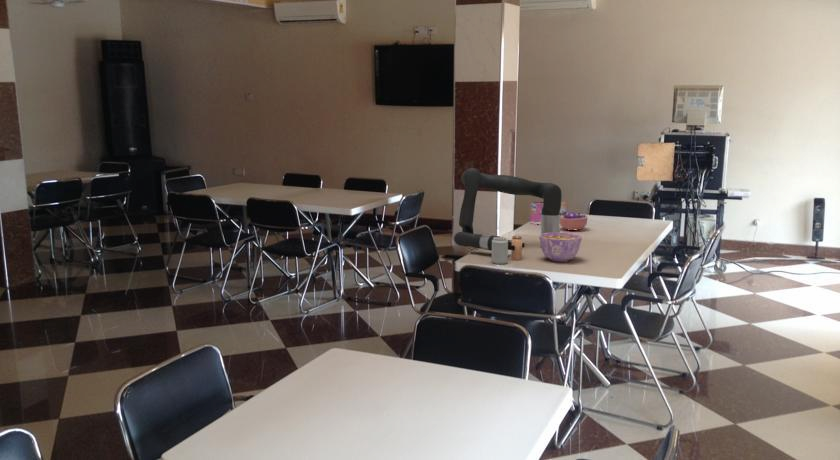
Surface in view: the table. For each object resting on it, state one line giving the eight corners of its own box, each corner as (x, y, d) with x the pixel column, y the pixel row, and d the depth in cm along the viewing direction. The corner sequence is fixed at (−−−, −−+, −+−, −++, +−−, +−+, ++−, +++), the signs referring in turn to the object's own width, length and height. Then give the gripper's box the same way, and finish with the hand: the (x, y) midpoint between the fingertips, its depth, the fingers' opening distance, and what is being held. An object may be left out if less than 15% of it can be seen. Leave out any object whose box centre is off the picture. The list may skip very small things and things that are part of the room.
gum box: (562, 221, 451) (562, 200, 448) (569, 223, 443) (569, 201, 441) (529, 223, 442) (530, 202, 440) (536, 225, 435) (536, 203, 432)
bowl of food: (554, 265, 320) (554, 241, 318) (530, 257, 338) (530, 234, 336) (589, 262, 328) (590, 237, 326) (564, 254, 346) (565, 231, 344)
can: (490, 261, 330) (490, 236, 328) (505, 261, 330) (506, 236, 328) (493, 264, 322) (493, 239, 320) (509, 264, 323) (509, 238, 321)
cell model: (592, 229, 420) (592, 210, 418) (580, 233, 404) (581, 214, 402) (565, 226, 429) (565, 208, 427) (553, 231, 413) (553, 212, 411)
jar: (520, 257, 337) (520, 235, 336) (522, 260, 333) (523, 237, 331) (510, 258, 337) (510, 235, 335) (512, 260, 332) (513, 237, 330)
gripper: (482, 237, 337) (511, 241, 327) (499, 233, 348) (527, 236, 338) (482, 252, 338) (511, 256, 328) (498, 248, 349) (527, 252, 339)
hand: (519, 246), depth 333 cm, fingers open, 8 cm apart
